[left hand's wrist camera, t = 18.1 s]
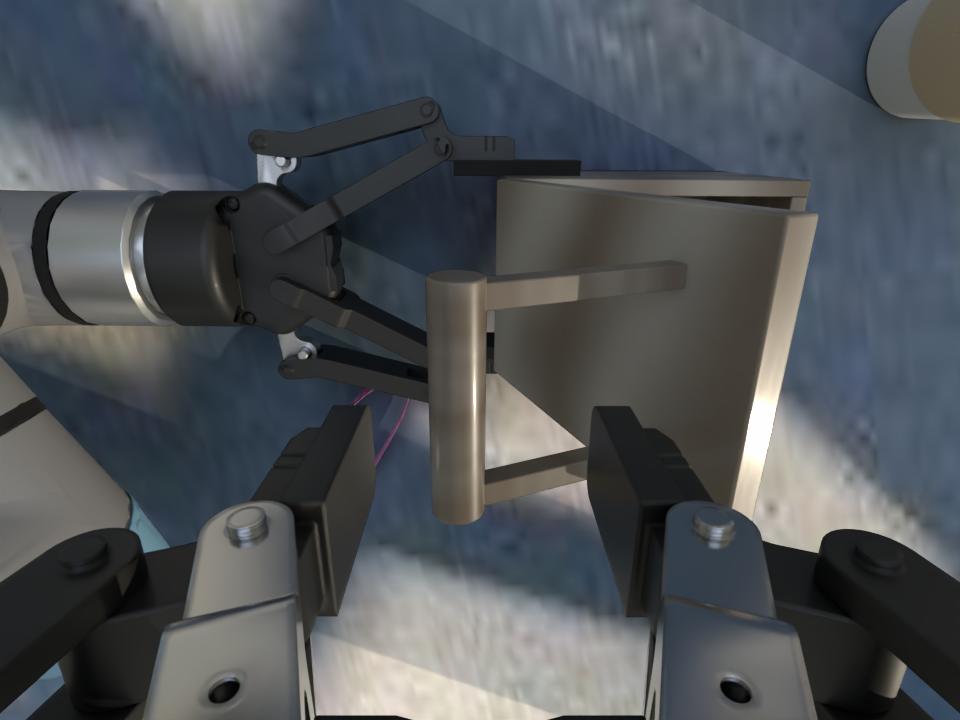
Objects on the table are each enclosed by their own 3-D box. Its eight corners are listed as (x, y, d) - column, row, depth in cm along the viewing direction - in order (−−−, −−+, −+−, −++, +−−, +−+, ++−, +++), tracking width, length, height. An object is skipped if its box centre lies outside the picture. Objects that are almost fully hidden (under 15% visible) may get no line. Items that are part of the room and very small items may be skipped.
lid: (821, 212, 13) (481, 231, 10) (747, 549, 16) (478, 644, 13) (516, 178, 26) (331, 181, 23) (511, 367, 29) (349, 393, 26)
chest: (719, 171, 36) (811, 179, 26) (698, 311, 39) (772, 367, 29) (498, 169, 36) (506, 178, 26) (496, 309, 39) (501, 365, 29)
